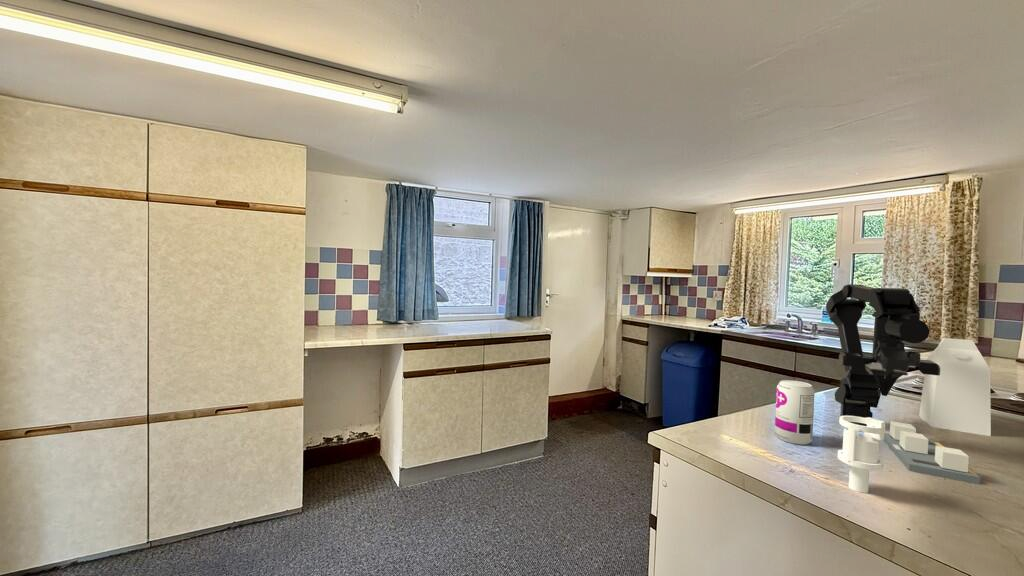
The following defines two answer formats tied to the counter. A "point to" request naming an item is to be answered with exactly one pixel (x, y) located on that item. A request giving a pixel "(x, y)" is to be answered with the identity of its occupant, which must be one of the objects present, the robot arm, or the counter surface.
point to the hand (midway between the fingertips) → (884, 395)
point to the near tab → (951, 458)
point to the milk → (958, 389)
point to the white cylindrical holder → (861, 449)
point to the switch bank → (927, 461)
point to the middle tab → (913, 442)
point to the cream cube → (900, 429)
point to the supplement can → (794, 412)
